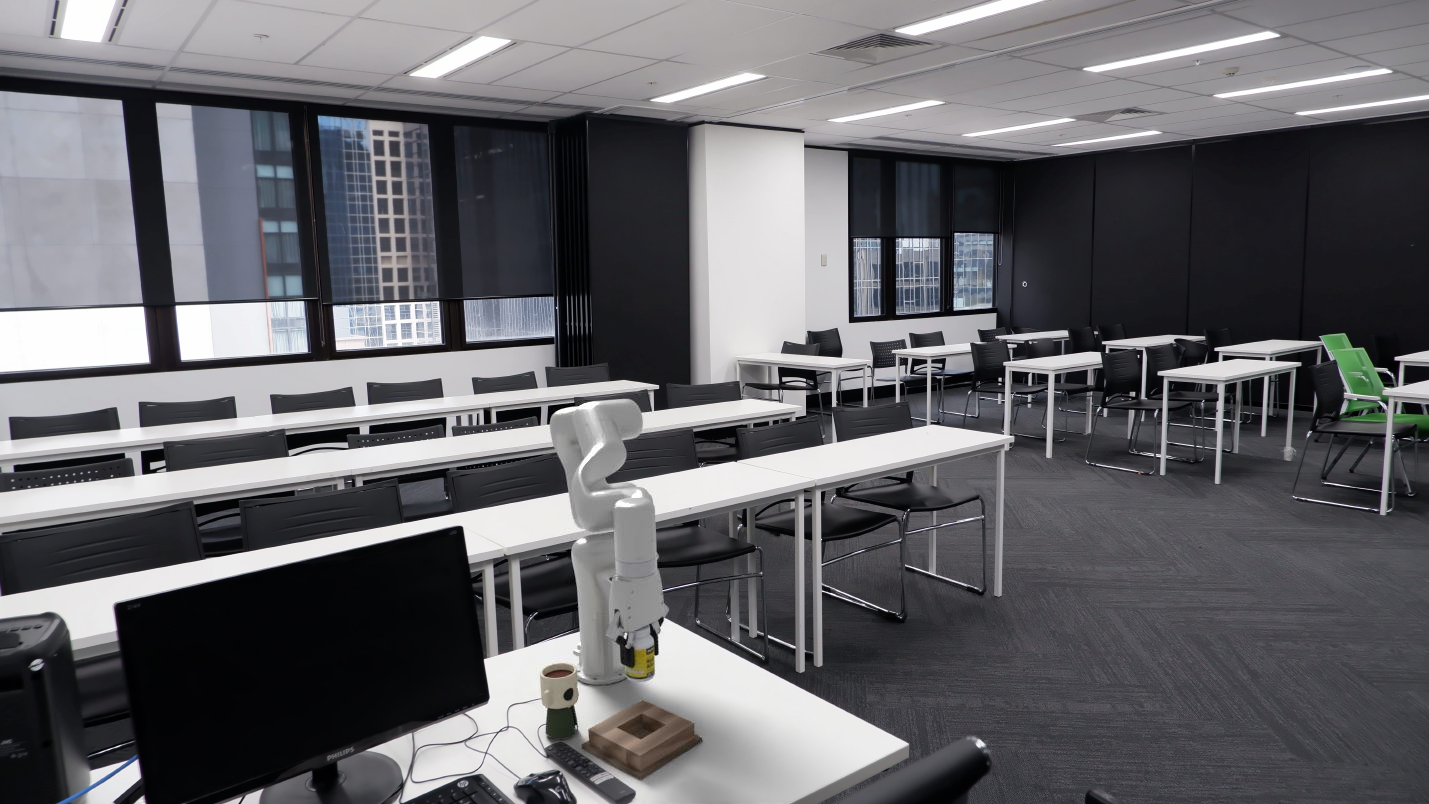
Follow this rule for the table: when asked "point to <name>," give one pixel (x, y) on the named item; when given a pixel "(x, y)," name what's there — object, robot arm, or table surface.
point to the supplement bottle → (642, 656)
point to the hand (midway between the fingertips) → (639, 658)
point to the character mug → (560, 698)
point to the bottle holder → (641, 739)
